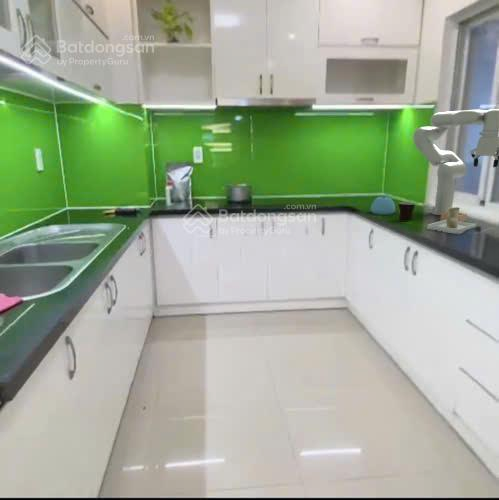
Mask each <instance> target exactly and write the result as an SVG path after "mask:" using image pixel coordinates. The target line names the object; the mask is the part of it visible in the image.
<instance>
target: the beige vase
mask: <svg viewBox="0 0 499 500" xmlns="http://www.w3.org/2000/svg"><path fill="white" fill-rule="evenodd" d="M459 213H460V207H456V206H452V207H449V208H448V216H447V224H446V227H449V228H457V224H458V216H459Z"/></svg>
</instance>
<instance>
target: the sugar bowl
mask: <svg viewBox="0 0 499 500" xmlns="http://www.w3.org/2000/svg"><path fill="white" fill-rule="evenodd" d="M370 212H372V214H374V215H382V216H383V215H384V216H387V215H388V216H390V215H393V214H394V213H395V212H396V204H395V202H394V201H393V198H391V197H387V194H381V196H379V197H376V198H375V199H374V200H373V202H372V204H371V206H370Z"/></svg>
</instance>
